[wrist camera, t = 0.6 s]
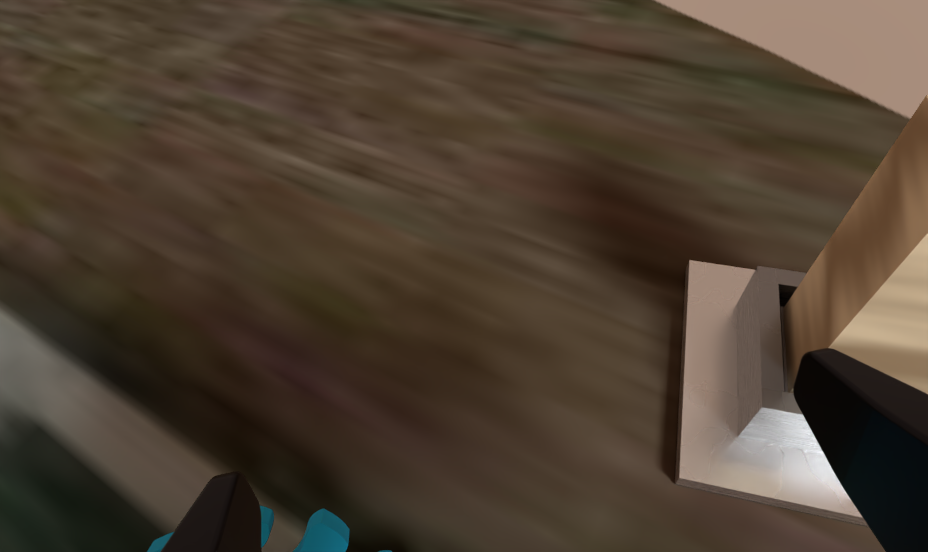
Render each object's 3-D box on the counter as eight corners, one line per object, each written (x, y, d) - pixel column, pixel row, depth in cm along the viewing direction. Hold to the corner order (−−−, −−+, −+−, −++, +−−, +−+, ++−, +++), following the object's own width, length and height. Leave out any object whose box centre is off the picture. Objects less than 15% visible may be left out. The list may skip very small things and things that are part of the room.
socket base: (983, 551, 22) (1058, 526, 19) (675, 484, 24) (698, 451, 21) (928, 306, 28) (978, 257, 25) (685, 269, 31) (705, 220, 27)
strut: (879, 437, 24) (1161, 227, 14) (768, 416, 25) (952, 202, 15) (866, 347, 27) (1098, 108, 16) (764, 330, 27) (921, 92, 17)
